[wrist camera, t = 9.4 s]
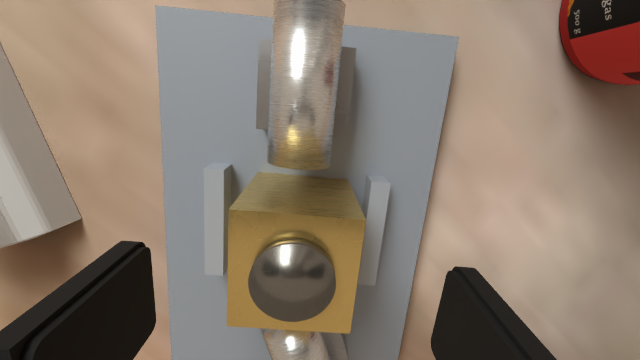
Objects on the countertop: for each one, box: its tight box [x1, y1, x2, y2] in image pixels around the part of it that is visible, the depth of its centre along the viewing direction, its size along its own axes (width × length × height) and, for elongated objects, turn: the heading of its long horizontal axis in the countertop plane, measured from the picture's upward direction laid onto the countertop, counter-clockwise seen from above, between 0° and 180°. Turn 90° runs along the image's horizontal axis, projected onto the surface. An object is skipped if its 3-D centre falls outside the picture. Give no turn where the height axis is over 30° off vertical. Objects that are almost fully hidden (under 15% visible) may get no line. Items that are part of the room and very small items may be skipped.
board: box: [155, 5, 459, 360], centre depth 17 cm, size 21×15×3 cm
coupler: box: [227, 172, 366, 334], centre depth 14 cm, size 5×5×7 cm
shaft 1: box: [256, 0, 357, 170], centre depth 14 cm, size 6×4×6 cm
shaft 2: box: [260, 328, 349, 360], centre depth 18 cm, size 6×4×6 cm
